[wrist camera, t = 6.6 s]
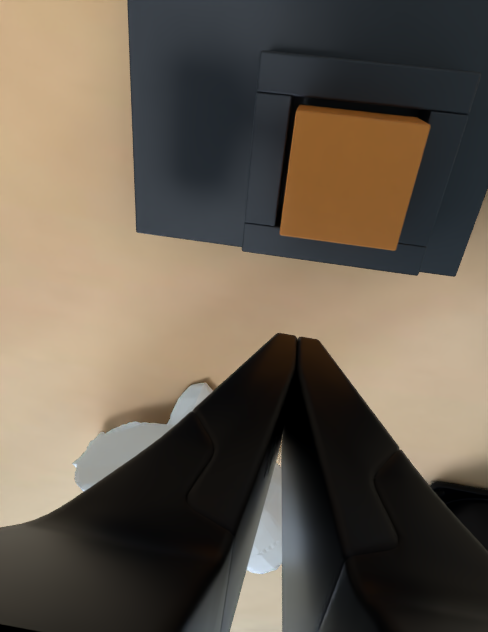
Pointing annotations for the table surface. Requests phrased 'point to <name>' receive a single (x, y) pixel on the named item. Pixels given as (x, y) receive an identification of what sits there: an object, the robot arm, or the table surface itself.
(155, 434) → the white lumpy shape
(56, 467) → the table surface
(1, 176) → the table surface
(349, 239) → the key
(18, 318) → the table surface
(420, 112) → the dark grey socket base
